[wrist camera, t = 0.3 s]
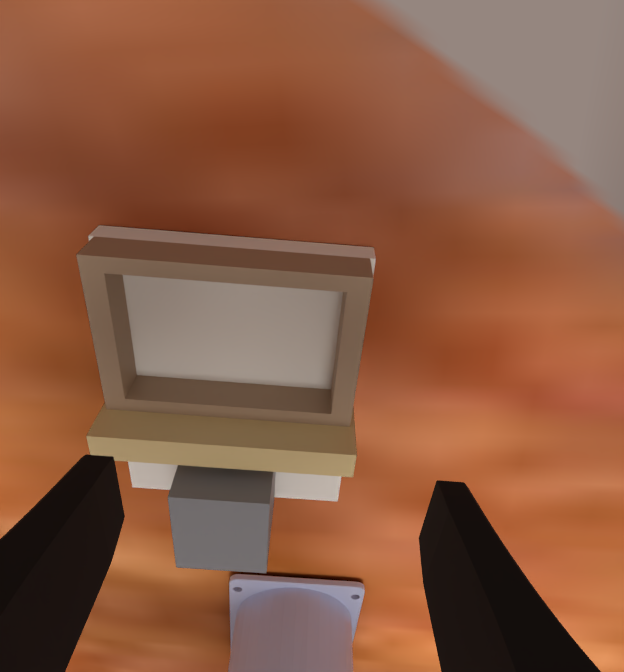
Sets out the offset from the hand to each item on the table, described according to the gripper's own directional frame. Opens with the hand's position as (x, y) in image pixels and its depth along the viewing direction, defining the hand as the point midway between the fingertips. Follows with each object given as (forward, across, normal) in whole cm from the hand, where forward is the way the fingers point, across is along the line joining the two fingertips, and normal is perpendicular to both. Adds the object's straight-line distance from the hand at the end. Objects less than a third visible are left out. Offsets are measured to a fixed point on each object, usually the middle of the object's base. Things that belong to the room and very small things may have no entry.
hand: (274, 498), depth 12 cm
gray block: (+9, +2, +8) cm, 13 cm away
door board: (+10, +2, +4) cm, 11 cm away
